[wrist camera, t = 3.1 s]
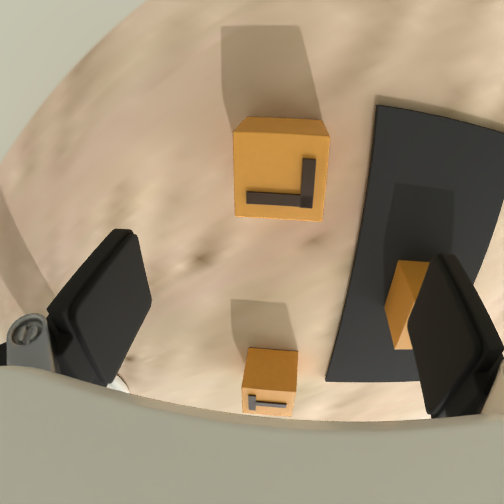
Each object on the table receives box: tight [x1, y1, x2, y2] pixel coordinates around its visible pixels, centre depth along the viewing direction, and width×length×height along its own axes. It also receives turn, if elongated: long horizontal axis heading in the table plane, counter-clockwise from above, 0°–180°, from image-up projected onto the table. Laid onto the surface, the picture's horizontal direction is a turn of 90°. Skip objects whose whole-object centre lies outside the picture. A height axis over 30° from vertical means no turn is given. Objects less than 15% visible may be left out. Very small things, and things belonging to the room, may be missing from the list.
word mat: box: [325, 105, 504, 382], centre depth 25 cm, size 12×28×1 cm, turn 0°
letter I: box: [384, 260, 430, 349], centre depth 23 cm, size 5×5×5 cm
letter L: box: [233, 117, 330, 222], centre depth 19 cm, size 5×5×5 cm
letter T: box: [241, 348, 298, 417], centre depth 31 cm, size 5×5×5 cm
